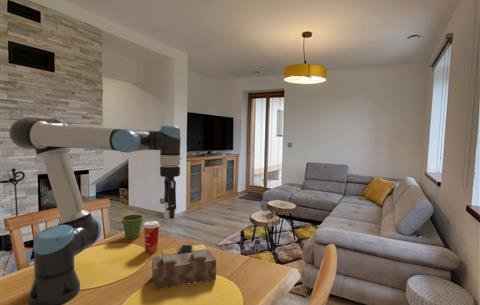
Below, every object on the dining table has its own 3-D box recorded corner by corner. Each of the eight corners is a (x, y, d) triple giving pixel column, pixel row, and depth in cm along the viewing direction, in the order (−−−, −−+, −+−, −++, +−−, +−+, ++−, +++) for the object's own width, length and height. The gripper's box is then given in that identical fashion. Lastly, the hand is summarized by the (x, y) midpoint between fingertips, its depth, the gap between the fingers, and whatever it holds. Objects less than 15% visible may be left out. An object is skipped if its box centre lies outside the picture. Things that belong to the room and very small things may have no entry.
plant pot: (147, 234, 156) (147, 215, 155) (134, 242, 144) (134, 221, 144) (130, 231, 159) (130, 213, 158) (116, 239, 148) (116, 219, 147)
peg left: (162, 272, 104) (163, 254, 104) (161, 266, 109) (161, 249, 108) (176, 270, 106) (176, 252, 105) (174, 264, 110) (174, 247, 110)
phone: (197, 245, 140) (191, 258, 125) (197, 247, 140) (191, 261, 125) (182, 245, 140) (174, 257, 126) (182, 247, 141) (174, 260, 126)
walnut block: (153, 289, 101) (153, 269, 100) (152, 276, 110) (152, 257, 110) (215, 279, 109) (216, 260, 109) (209, 267, 119) (209, 250, 118)
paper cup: (142, 248, 136) (142, 221, 136) (158, 246, 140) (158, 219, 139) (143, 255, 129) (144, 226, 129) (160, 252, 133) (160, 224, 132)
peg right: (193, 267, 108) (194, 250, 108) (191, 262, 113) (191, 245, 113) (206, 265, 110) (206, 249, 110) (203, 260, 115) (203, 244, 114)
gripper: (185, 169, 96) (183, 230, 97) (175, 162, 117) (175, 213, 118) (163, 169, 93) (162, 232, 94) (157, 162, 114) (157, 214, 115)
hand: (169, 222), depth 106 cm, fingers open, 10 cm apart
